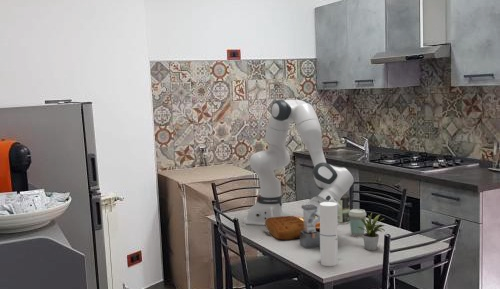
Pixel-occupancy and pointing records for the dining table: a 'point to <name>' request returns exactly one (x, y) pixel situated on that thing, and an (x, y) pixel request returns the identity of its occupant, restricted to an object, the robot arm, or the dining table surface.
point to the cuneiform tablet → (285, 227)
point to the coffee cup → (357, 222)
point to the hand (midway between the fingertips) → (308, 222)
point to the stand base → (309, 240)
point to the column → (309, 218)
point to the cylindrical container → (328, 234)
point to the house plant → (371, 233)
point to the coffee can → (344, 210)
